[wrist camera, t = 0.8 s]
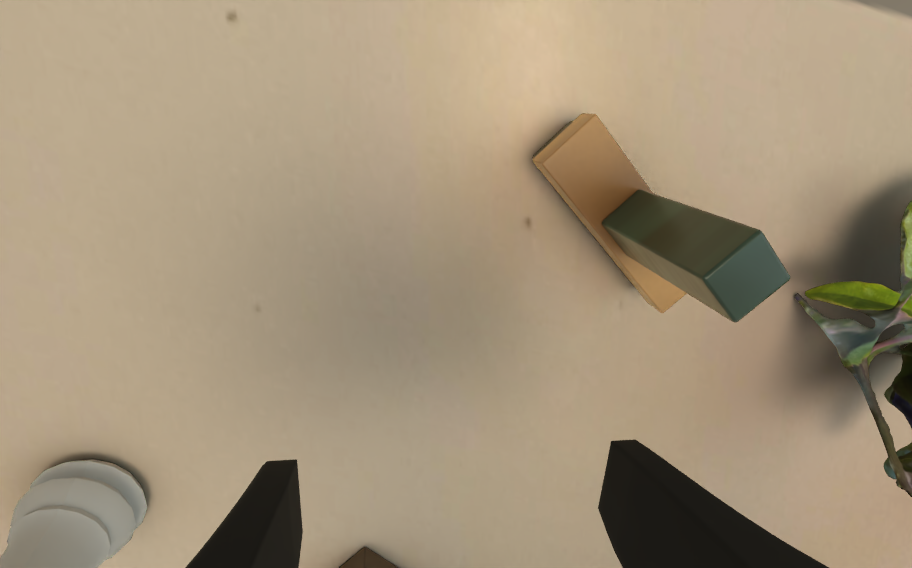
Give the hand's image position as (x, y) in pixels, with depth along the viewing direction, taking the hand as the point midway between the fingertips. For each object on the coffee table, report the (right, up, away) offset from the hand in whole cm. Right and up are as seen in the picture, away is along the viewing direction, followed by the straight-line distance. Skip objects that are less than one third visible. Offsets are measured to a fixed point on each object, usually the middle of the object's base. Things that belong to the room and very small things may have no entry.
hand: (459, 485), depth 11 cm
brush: (+6, +8, +9) cm, 13 cm away
